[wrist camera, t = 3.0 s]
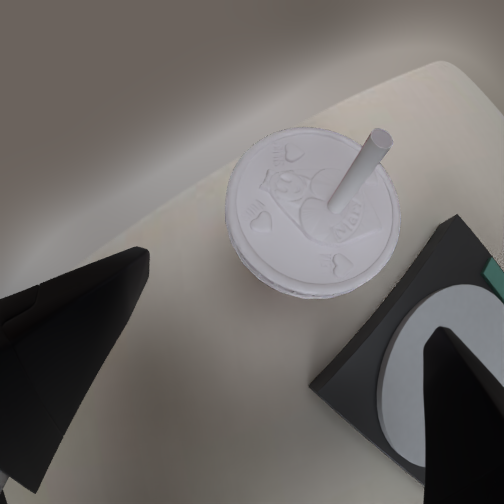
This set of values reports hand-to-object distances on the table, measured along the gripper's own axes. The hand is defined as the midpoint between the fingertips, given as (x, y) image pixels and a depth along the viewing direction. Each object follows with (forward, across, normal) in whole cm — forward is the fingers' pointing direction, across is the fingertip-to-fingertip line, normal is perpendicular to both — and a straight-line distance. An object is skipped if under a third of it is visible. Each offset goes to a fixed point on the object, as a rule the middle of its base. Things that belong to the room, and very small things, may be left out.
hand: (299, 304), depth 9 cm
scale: (+7, -13, +8) cm, 17 cm away
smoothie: (+10, 0, +5) cm, 11 cm away
